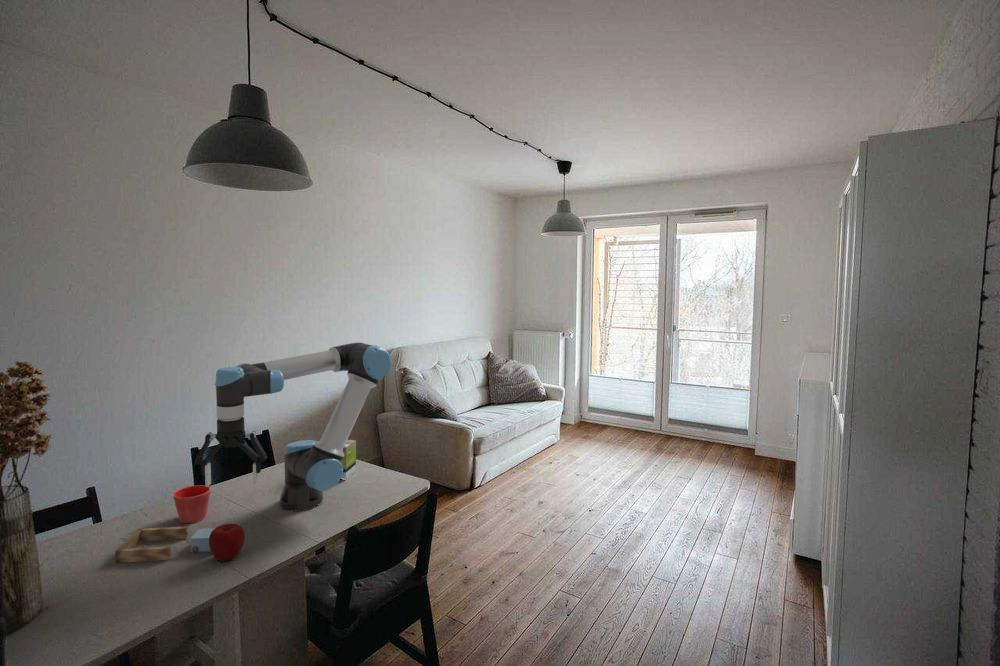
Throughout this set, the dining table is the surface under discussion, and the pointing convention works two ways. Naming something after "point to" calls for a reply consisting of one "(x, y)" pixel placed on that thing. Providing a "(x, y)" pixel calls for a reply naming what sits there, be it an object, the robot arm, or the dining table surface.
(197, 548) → the block
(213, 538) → the apple
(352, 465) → the tea box
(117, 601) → the dining table surface
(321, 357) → the robot arm
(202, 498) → the flower pot
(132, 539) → the bay
